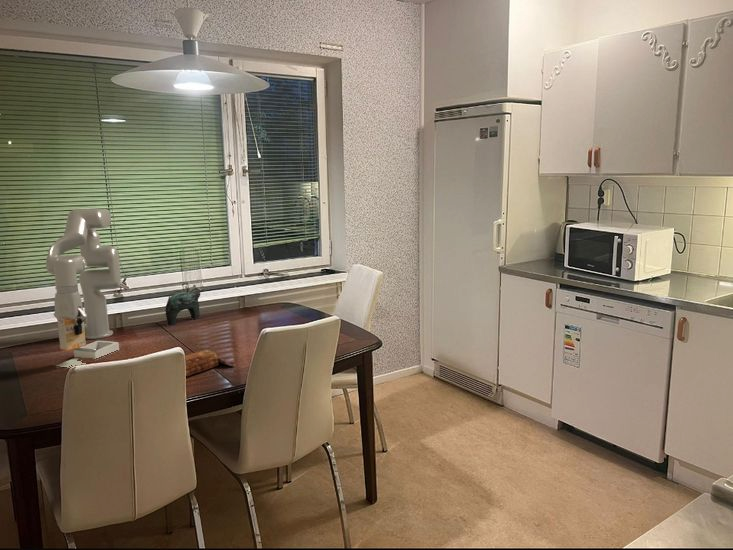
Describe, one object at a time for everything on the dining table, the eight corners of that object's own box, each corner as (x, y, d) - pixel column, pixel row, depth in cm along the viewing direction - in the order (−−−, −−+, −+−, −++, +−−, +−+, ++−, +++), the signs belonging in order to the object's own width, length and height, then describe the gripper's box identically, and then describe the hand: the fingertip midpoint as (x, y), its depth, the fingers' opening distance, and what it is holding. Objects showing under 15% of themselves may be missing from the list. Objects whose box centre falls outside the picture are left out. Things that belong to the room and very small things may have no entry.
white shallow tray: (74, 358, 232) (73, 347, 232) (98, 348, 245) (97, 338, 245) (95, 360, 229) (94, 349, 229) (119, 350, 242) (118, 340, 242)
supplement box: (67, 351, 219) (63, 319, 217) (60, 349, 221) (56, 317, 219) (86, 346, 226) (83, 314, 223) (79, 344, 228) (76, 313, 226)
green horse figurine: (197, 316, 299) (194, 279, 295) (204, 318, 295) (202, 281, 291) (164, 324, 283) (161, 286, 279) (172, 326, 279) (169, 287, 275)
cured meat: (241, 365, 222) (240, 349, 221) (186, 384, 203) (185, 366, 202) (213, 357, 233) (212, 341, 232) (159, 374, 214) (157, 357, 213)
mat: (55, 367, 222) (55, 365, 222) (75, 359, 231) (74, 357, 231) (75, 369, 219) (75, 368, 219) (94, 361, 228) (94, 360, 228)
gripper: (42, 290, 218) (47, 334, 221) (77, 292, 213) (82, 337, 217) (57, 286, 225) (62, 329, 229) (92, 288, 220) (96, 332, 224)
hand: (72, 333), depth 223 cm, fingers closed on supplement box, 5 cm apart
